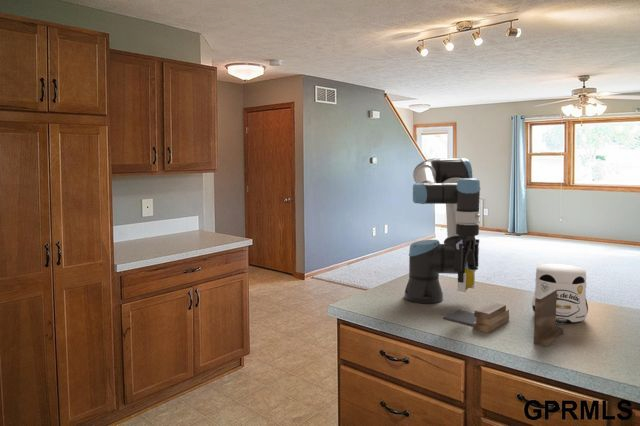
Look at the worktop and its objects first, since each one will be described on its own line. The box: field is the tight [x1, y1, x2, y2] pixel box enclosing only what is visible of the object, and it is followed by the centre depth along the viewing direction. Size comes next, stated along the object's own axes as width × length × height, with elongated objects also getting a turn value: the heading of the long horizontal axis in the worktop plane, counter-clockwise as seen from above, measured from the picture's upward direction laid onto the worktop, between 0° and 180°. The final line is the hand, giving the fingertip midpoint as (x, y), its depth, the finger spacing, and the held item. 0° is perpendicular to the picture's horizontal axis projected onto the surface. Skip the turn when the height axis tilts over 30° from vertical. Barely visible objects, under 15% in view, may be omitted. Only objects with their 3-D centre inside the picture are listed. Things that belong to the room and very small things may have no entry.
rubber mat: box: [442, 309, 476, 327], centre depth 166 cm, size 11×11×1 cm
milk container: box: [531, 263, 589, 325], centre depth 163 cm, size 17×17×18 cm
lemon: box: [465, 268, 474, 291], centre depth 165 cm, size 6×6×8 cm
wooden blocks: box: [472, 289, 565, 348], centre depth 153 cm, size 23×16×14 cm
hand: (466, 289), depth 165 cm, fingers closed on lemon, 6 cm apart
